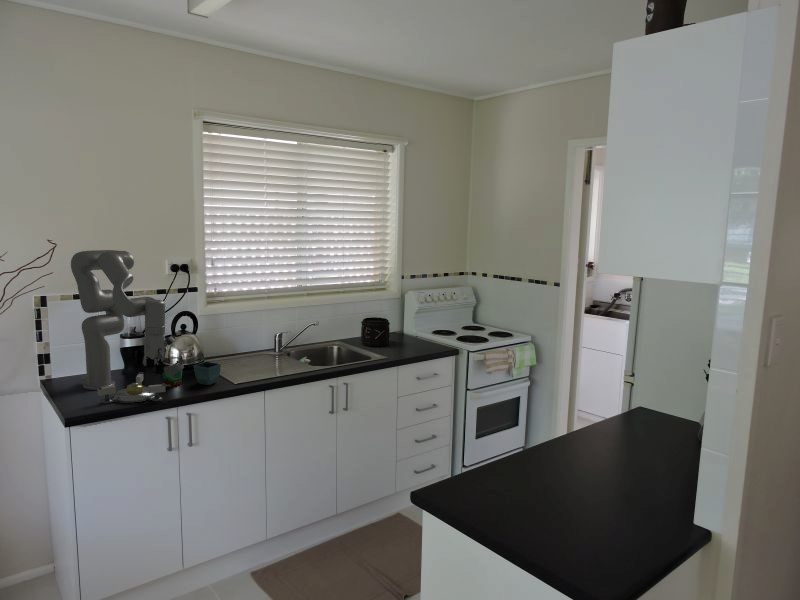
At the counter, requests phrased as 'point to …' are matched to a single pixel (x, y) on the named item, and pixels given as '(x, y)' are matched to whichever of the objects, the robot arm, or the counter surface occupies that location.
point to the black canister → (375, 332)
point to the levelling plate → (132, 395)
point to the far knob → (157, 389)
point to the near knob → (106, 391)
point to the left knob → (139, 378)
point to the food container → (173, 375)
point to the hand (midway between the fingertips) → (155, 370)
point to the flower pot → (207, 372)
